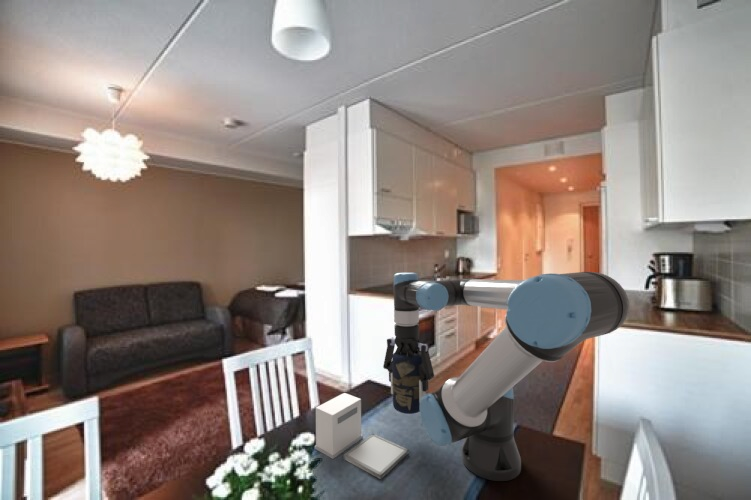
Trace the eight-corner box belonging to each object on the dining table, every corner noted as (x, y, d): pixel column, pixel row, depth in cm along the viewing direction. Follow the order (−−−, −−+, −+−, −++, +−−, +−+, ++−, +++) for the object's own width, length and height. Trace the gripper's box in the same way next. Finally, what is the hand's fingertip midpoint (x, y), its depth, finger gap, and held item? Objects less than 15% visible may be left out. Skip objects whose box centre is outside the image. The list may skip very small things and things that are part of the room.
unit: (362, 437, 100) (362, 398, 100) (333, 459, 90) (332, 416, 90) (344, 429, 105) (344, 392, 105) (314, 448, 95) (314, 407, 95)
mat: (408, 453, 92) (408, 449, 92) (380, 479, 82) (380, 475, 82) (372, 436, 100) (372, 433, 100) (343, 458, 90) (343, 454, 90)
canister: (388, 413, 97) (387, 352, 97) (398, 399, 106) (397, 344, 106) (420, 419, 93) (418, 356, 93) (427, 404, 102) (426, 346, 102)
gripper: (445, 325, 96) (447, 402, 96) (385, 317, 110) (386, 384, 109) (433, 330, 90) (434, 412, 90) (370, 321, 104) (372, 391, 104)
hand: (408, 396), depth 100 cm, fingers closed on canister, 9 cm apart
